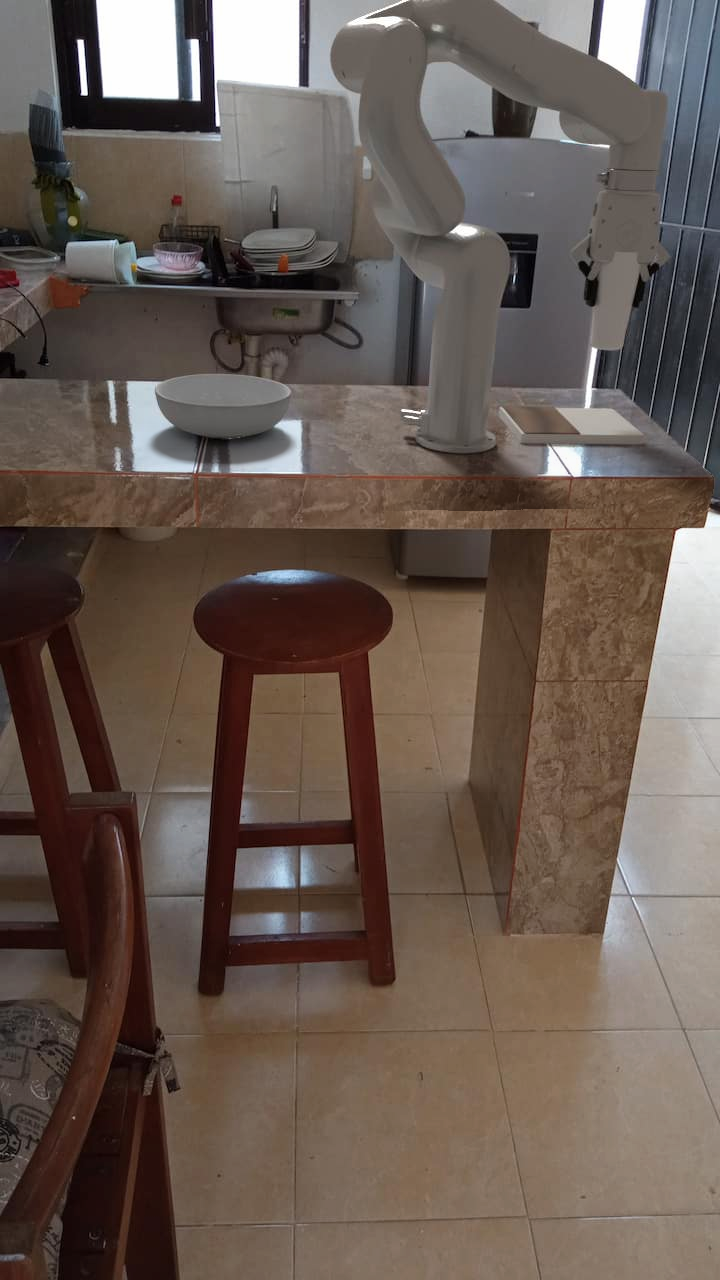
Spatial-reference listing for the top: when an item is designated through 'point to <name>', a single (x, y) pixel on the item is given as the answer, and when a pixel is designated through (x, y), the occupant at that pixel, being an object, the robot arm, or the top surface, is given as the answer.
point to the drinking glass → (614, 300)
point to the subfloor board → (583, 428)
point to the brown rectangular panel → (540, 420)
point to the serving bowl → (223, 404)
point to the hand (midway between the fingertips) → (612, 304)
